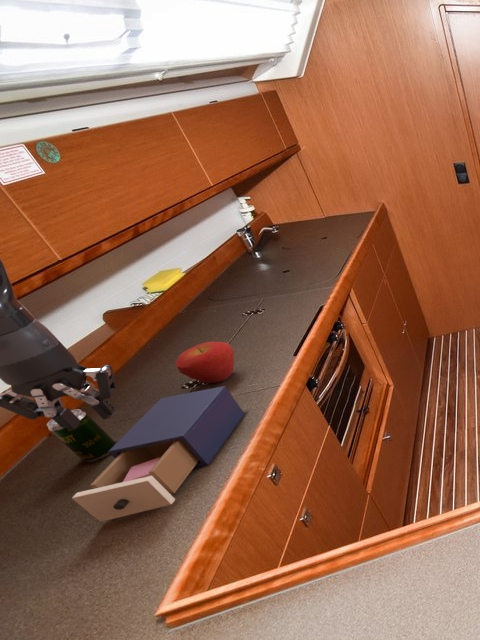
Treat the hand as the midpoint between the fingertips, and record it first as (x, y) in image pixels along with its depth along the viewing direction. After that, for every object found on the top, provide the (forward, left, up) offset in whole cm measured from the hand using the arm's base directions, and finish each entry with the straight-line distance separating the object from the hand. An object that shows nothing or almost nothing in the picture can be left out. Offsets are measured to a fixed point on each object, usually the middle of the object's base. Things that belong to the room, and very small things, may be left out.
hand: (92, 420), depth 77 cm
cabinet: (+3, +12, -21) cm, 24 cm away
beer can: (-16, +21, -21) cm, 34 cm away
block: (0, 0, -19) cm, 19 cm away
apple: (+2, +39, -21) cm, 44 cm away
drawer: (0, +1, -20) cm, 20 cm away
